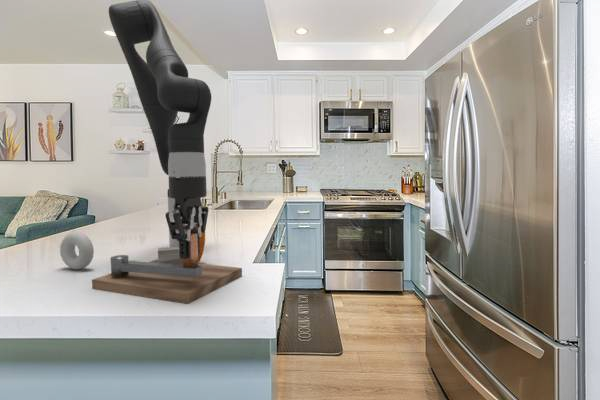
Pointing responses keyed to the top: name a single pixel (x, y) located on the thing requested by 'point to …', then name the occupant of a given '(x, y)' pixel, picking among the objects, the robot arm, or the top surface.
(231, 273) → the press board
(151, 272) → the lever
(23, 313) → the top surface
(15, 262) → the top surface
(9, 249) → the top surface
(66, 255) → the donut
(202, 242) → the carrot
